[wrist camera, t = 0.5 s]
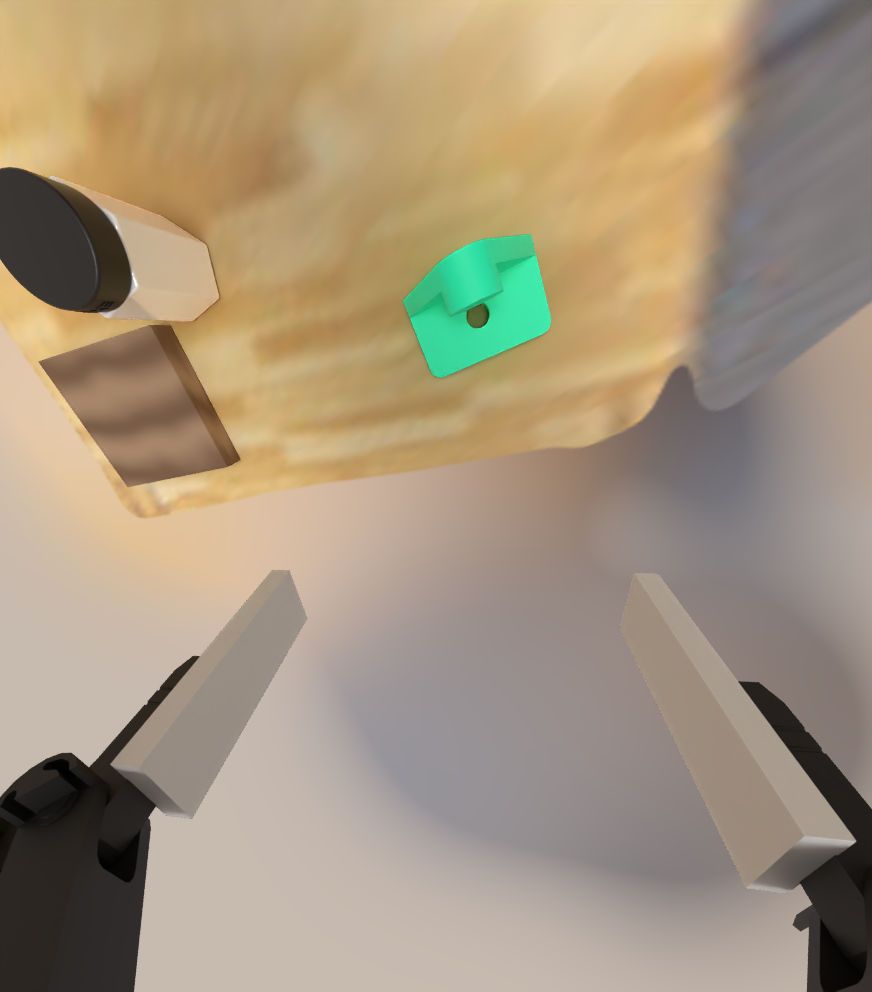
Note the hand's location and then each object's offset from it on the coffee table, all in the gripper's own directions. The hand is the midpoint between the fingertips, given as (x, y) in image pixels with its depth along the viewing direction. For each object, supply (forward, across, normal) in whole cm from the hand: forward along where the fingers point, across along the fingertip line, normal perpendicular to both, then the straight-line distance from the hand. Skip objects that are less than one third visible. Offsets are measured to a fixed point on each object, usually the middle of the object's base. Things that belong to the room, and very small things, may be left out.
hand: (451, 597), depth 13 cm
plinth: (+27, -39, +3) cm, 48 cm away
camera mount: (+28, +2, +10) cm, 30 cm away
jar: (+28, -29, +17) cm, 43 cm away
